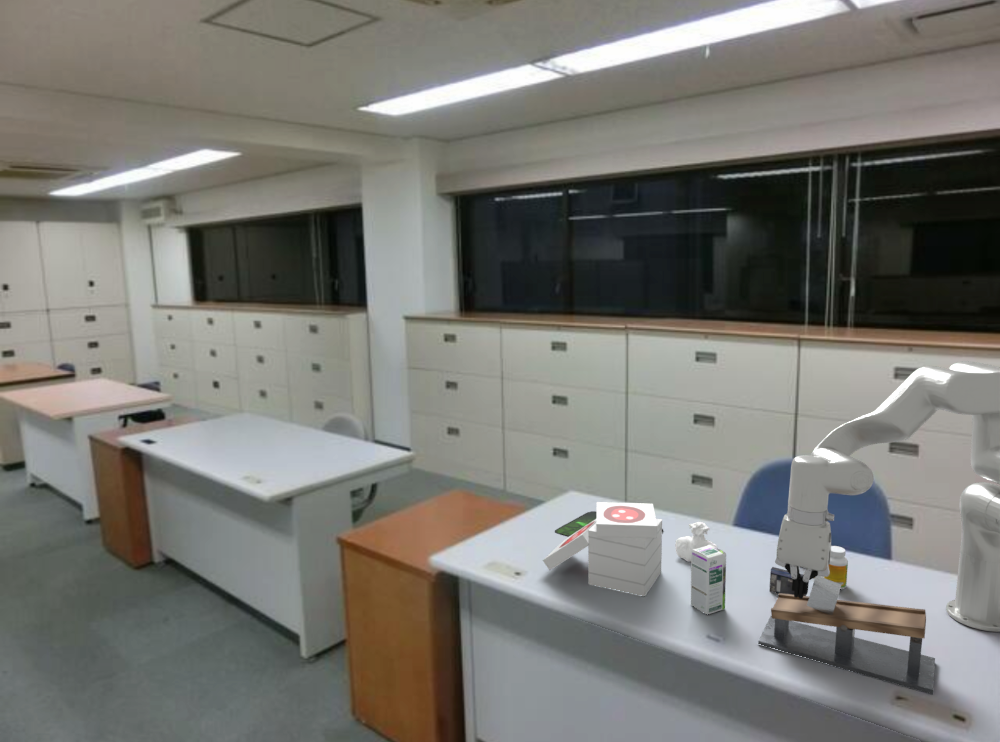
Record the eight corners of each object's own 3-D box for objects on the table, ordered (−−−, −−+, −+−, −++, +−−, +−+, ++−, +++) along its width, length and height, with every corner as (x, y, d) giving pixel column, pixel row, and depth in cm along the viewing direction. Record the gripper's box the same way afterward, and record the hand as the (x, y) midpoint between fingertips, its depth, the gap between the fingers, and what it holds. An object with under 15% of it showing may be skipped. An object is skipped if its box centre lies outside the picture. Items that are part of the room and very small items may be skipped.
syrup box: (707, 616, 159) (709, 558, 156) (689, 604, 164) (691, 548, 162) (725, 609, 162) (727, 552, 159) (707, 598, 167) (709, 543, 164)
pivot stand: (934, 662, 139) (937, 627, 138) (932, 694, 130) (936, 657, 128) (770, 619, 157) (772, 588, 156) (758, 644, 147) (759, 611, 146)
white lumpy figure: (719, 571, 185) (726, 531, 189) (713, 564, 179) (721, 523, 184) (675, 561, 192) (684, 523, 196) (669, 554, 186) (678, 515, 190)
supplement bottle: (849, 591, 169) (851, 554, 167) (825, 589, 170) (828, 553, 168) (842, 580, 174) (845, 545, 172) (820, 579, 175) (822, 543, 173)
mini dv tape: (769, 591, 170) (770, 569, 169) (771, 589, 171) (772, 566, 170) (804, 600, 165) (805, 577, 164) (806, 598, 166) (807, 575, 165)
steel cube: (835, 604, 145) (841, 584, 144) (832, 615, 141) (838, 595, 139) (810, 595, 147) (816, 575, 146) (806, 605, 143) (812, 585, 142)
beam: (926, 620, 138) (925, 608, 137) (924, 642, 130) (923, 630, 130) (780, 603, 154) (779, 592, 153) (771, 621, 146) (770, 610, 146)
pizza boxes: (567, 549, 196) (567, 489, 193) (671, 570, 182) (672, 506, 178) (538, 577, 180) (537, 513, 176) (650, 603, 165) (651, 533, 162)
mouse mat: (551, 533, 208) (551, 529, 208) (589, 511, 225) (589, 508, 225) (630, 556, 191) (630, 553, 191) (665, 531, 208) (665, 528, 207)
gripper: (848, 517, 142) (840, 598, 145) (773, 501, 150) (767, 579, 153) (843, 528, 136) (834, 613, 139) (765, 512, 144) (758, 592, 147)
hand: (799, 595), depth 146 cm, fingers closed
